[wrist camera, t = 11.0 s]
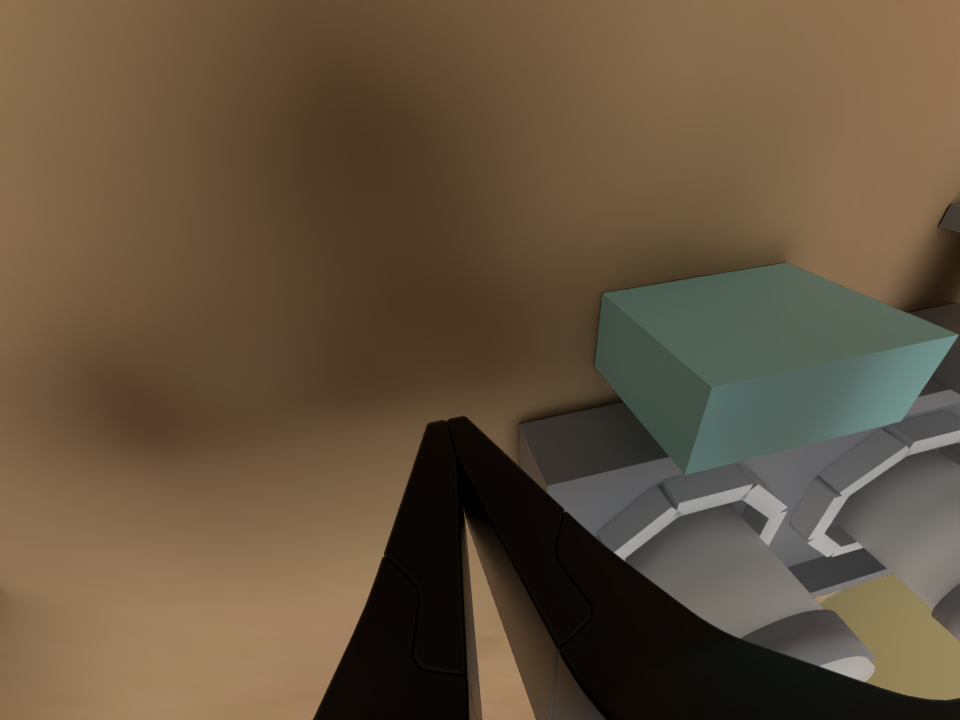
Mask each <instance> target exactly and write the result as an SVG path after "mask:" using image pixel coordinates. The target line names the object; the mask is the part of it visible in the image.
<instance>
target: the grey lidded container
mask: <svg viewBox="0 0 960 720" xmlns="http://www.w3.org/2000/svg"><path fill="white" fill-rule="evenodd" d="M833 521H834V522H835V523H837V524H838V525H839V526H840V527H841V528H842V529H843V530H844V531H845V532H847V533H848V534H849V535H850V536H851V537H852V538H853V539H854V540H856V541H857V542H858V543H859V544H860V545H861V546H862V547H863V548H864V549H866V550H867V551H868V552H869V553H870V554H871V555H872V556H873V557H874V558H876V559H877V560H878V561H879V562H880V563H881V564H882V565H883V566H885V567H886V568H887V569H888V570H889V571H890V572H891V573H892V574H893V575H895V576H896V577H897V578H898V579H899V580H900V581H901V582H903V583H904V584H905V585H906V586H907V587H908V588H909V589H910V590H911V591H912V592H914V593H915V594H916V595H917V596H918V597H919V598H920V599H921V600H923V601H924V602H925V603H926V604H927V605H928V606H929V607H930V608H931V609H933V611H932V617H933V618H935V619H936V620H937V621H938V622H939V623H940V624H941V625H942V626H943V627H944V628H946V629H947V630H948V631H949V632H950V633H951V634H952V635H953V636H954V637H955V638H957V639H958V640H959V641H960V465H959V464H957V463H955V462H954V461H952V460H951V459H949V458H947V457H946V456H944V455H942V454H941V453H939V452H938V451H936V450H934V449H931V450H927V451H923V452H919V453H916V454H912V455H908V456H906V457H905V458H903V459H902V460H900V461H899V462H898V463H896V464H895V465H893V466H892V467H890V468H889V469H887V470H886V471H885V472H883V473H882V474H880V475H879V476H877V477H876V478H874V479H873V480H872V481H870V482H869V483H867V484H866V485H864V486H863V487H862V488H860V489H859V490H857V491H856V492H854V493H853V494H851V495H850V496H849V497H848V498H847V500H846V501H845V503H844V504H843V506H842V507H841V509H840V510H839V512H838V513H837V515H836V516H835V518H834V519H833Z"/></svg>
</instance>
